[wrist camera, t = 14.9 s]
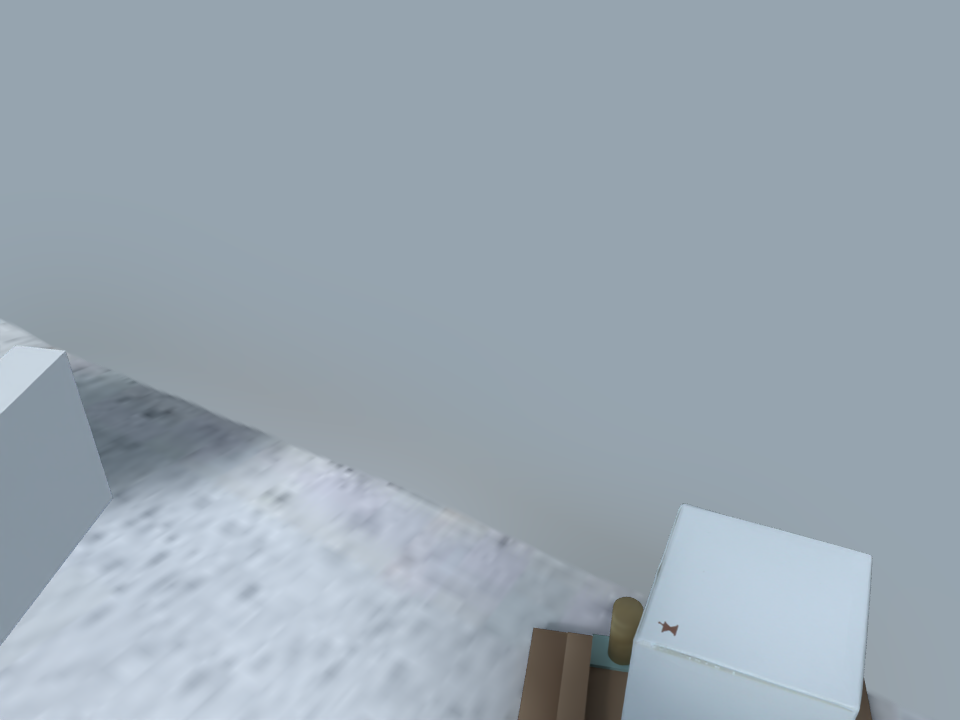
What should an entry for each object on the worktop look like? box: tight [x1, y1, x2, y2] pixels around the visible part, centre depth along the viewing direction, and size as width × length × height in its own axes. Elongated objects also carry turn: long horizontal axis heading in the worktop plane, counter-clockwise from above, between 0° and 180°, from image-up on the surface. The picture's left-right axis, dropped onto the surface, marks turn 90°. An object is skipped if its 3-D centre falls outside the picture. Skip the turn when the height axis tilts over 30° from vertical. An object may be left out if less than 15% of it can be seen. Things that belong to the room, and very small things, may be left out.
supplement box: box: [621, 503, 872, 720], centre depth 34 cm, size 7×7×13 cm
